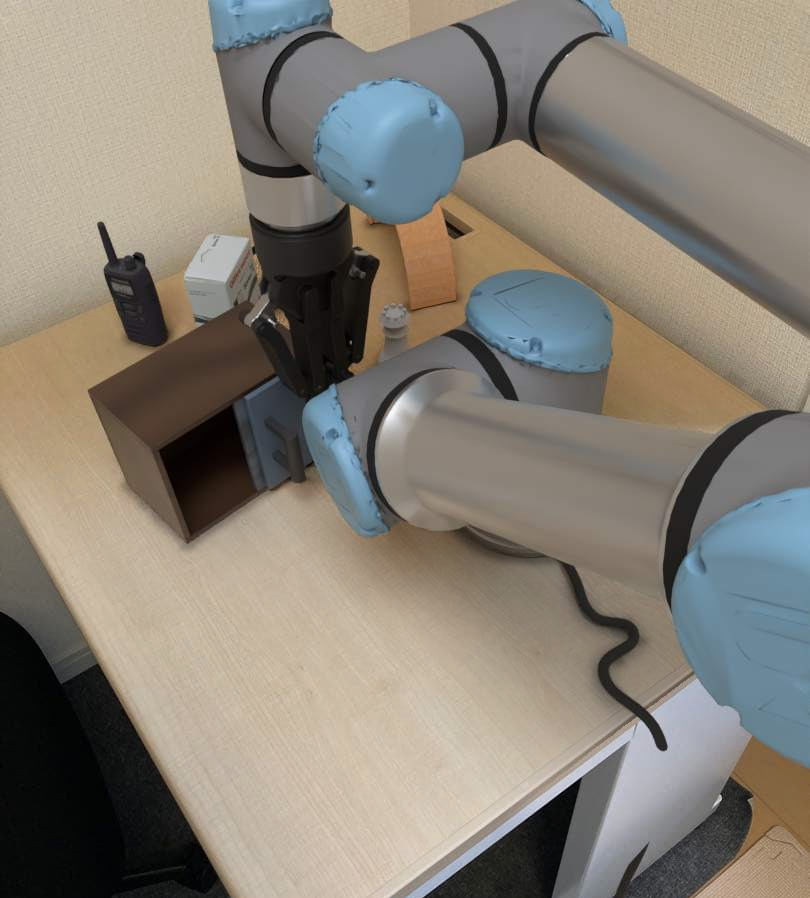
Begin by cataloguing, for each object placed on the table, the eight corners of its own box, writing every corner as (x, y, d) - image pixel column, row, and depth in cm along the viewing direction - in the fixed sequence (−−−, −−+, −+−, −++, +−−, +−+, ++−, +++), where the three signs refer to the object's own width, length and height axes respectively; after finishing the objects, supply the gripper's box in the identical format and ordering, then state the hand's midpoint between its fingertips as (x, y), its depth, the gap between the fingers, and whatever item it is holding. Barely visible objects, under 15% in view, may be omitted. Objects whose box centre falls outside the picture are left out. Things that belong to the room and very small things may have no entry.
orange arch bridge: (409, 310, 107) (405, 235, 99) (367, 219, 119) (360, 146, 111) (456, 300, 108) (456, 224, 100) (409, 211, 120) (406, 137, 112)
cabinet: (331, 446, 94) (315, 347, 84) (187, 544, 87) (150, 448, 76) (269, 398, 99) (247, 299, 89) (128, 486, 92) (86, 389, 82)
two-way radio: (121, 340, 106) (78, 226, 94) (142, 317, 109) (103, 203, 97) (160, 351, 105) (122, 236, 93) (181, 328, 107) (147, 213, 95)
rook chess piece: (396, 389, 98) (391, 330, 92) (369, 369, 101) (363, 310, 94) (426, 369, 100) (424, 310, 94) (400, 350, 102) (396, 291, 96)
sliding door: (365, 463, 91) (355, 372, 82) (296, 512, 87) (276, 422, 78) (335, 440, 93) (321, 348, 84) (266, 487, 90) (243, 396, 80)
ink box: (246, 371, 102) (225, 282, 92) (205, 367, 102) (179, 278, 93) (269, 322, 107) (251, 233, 98) (229, 319, 108) (207, 230, 98)
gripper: (334, 152, 71) (359, 379, 90) (196, 220, 66) (252, 445, 85) (398, 189, 68) (410, 417, 86) (257, 264, 63) (302, 489, 81)
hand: (332, 431), depth 86 cm, fingers closed
